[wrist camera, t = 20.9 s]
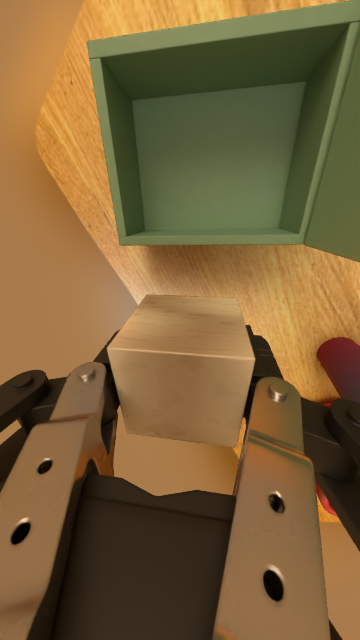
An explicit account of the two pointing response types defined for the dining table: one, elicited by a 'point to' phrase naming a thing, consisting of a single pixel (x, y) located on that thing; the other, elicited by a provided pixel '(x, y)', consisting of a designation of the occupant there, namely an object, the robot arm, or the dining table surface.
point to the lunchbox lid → (341, 179)
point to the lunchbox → (223, 124)
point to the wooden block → (183, 369)
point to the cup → (342, 366)
